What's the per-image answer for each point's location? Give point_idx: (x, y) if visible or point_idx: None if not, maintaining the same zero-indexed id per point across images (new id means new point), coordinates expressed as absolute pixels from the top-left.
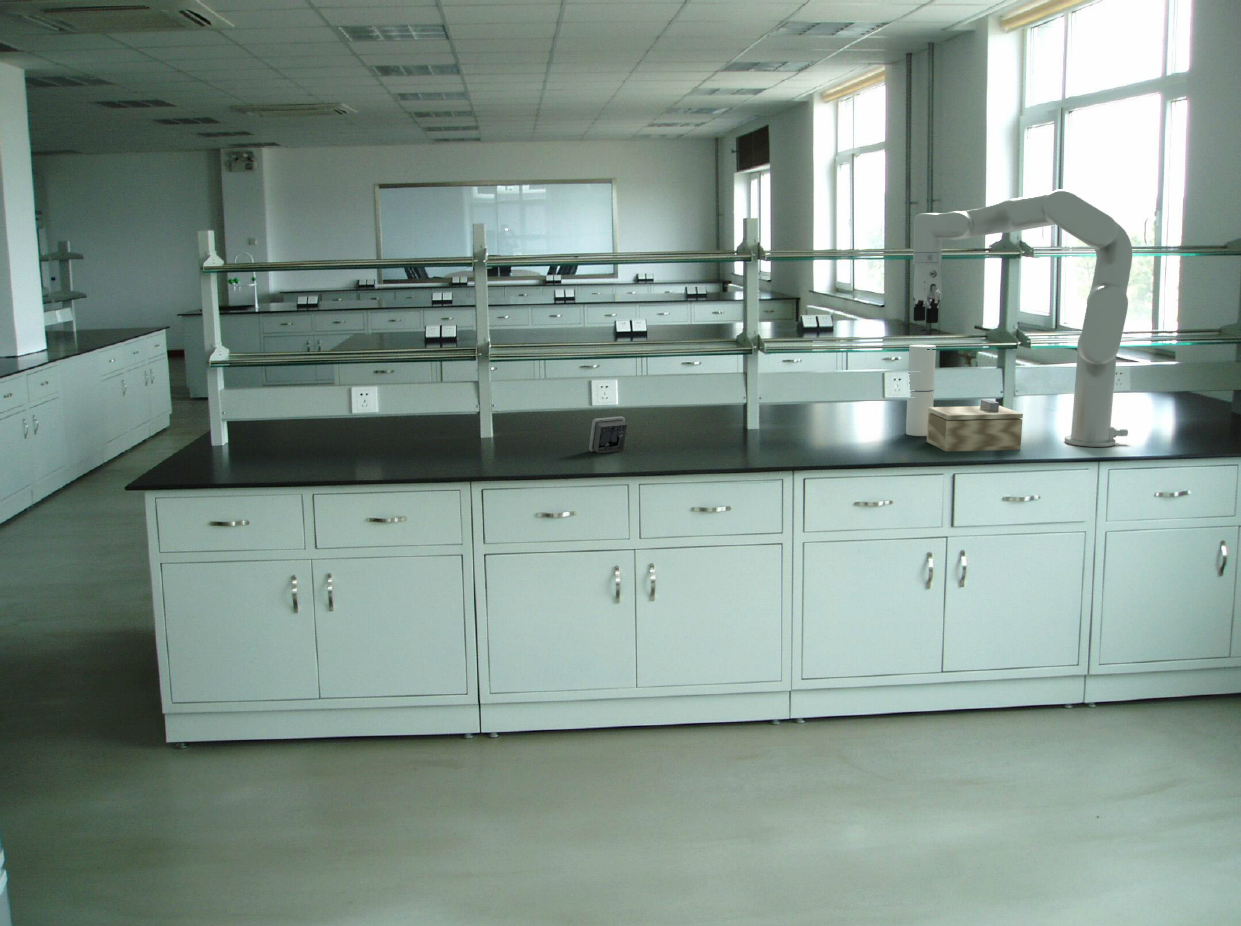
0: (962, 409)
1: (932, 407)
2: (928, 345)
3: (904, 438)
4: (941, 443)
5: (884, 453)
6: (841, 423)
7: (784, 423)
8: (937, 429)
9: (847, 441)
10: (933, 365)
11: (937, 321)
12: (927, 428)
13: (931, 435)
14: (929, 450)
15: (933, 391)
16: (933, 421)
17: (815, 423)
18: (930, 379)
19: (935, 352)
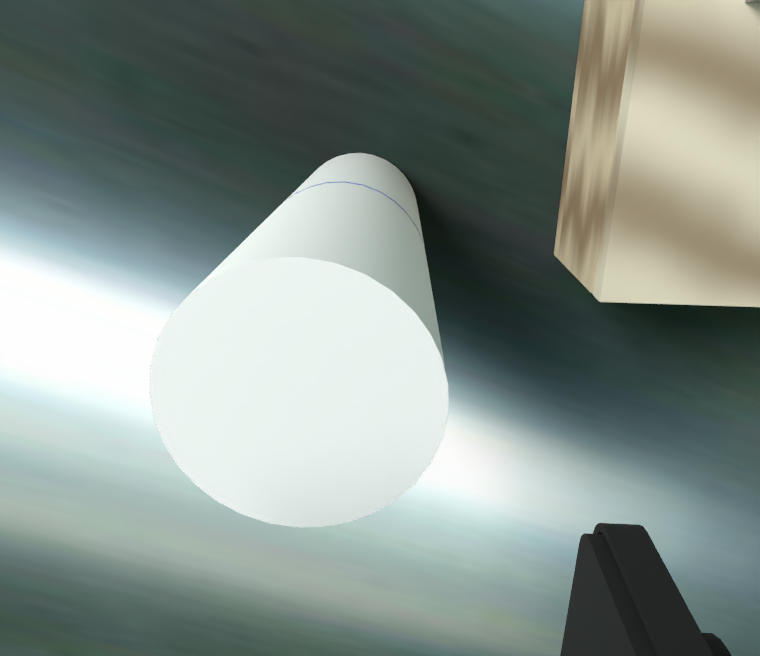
0: (740, 140)
1: (615, 283)
2: (285, 333)
3: (455, 316)
4: None
5: (731, 493)
6: (63, 443)
7: (64, 630)
8: None
9: (472, 537)
10: (409, 255)
11: (643, 541)
12: (570, 270)
13: None
14: (736, 317)
15: (390, 197)
16: None
17: (64, 534)
18: (423, 255)
19: (377, 259)
